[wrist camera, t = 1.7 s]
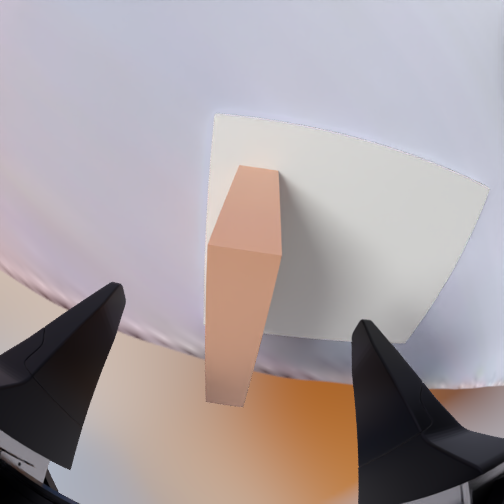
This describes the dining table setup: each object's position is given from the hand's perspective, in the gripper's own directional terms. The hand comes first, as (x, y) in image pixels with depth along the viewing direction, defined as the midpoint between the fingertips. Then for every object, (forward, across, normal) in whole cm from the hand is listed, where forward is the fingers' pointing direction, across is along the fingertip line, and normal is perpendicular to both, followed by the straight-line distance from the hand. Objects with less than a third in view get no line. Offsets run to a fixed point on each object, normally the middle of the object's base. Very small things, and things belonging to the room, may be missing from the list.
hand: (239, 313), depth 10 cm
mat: (+5, -5, 0) cm, 7 cm away
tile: (+4, 0, 0) cm, 4 cm away
